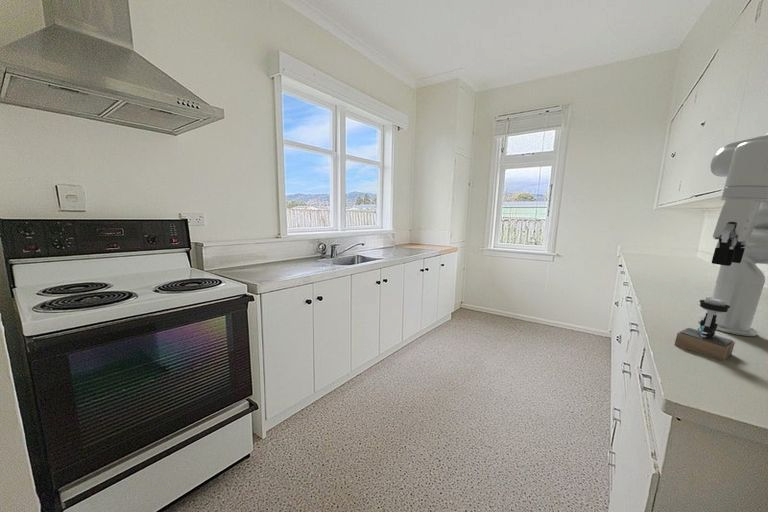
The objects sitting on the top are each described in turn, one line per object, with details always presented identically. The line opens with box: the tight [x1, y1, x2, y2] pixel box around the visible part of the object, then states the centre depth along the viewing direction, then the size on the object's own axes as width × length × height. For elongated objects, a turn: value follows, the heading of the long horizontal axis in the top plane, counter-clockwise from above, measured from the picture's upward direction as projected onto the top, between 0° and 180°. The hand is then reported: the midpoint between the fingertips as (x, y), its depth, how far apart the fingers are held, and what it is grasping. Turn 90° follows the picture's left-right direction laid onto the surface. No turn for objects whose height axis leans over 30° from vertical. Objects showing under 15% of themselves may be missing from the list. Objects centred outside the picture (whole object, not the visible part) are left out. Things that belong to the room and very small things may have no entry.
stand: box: [674, 327, 736, 362], centre depth 78 cm, size 8×9×4 cm
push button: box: [697, 296, 730, 338], centre depth 77 cm, size 7×5×10 cm
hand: (726, 263), depth 75 cm, fingers open, 9 cm apart
